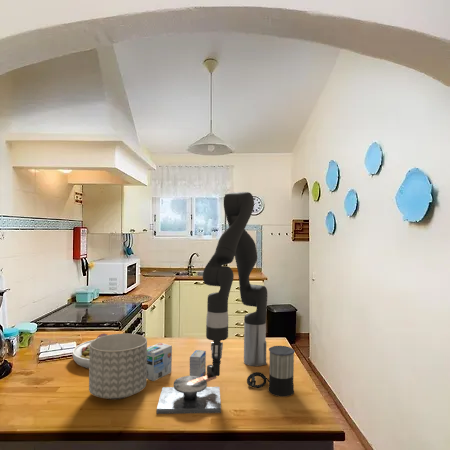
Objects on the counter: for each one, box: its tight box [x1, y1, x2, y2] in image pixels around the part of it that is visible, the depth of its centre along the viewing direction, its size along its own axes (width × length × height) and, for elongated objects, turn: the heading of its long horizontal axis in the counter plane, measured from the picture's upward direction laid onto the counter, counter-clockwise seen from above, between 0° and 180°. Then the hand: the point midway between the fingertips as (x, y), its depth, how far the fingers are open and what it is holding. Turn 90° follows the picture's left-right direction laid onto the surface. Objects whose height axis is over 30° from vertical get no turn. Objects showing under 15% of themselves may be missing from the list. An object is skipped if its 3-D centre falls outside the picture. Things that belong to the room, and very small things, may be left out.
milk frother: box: [246, 345, 295, 398], centre depth 131 cm, size 14×16×15 cm
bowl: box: [72, 333, 108, 369], centre depth 158 cm, size 30×30×8 cm
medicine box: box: [189, 349, 207, 377], centre depth 141 cm, size 8×4×9 cm, turn 168°
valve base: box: [156, 386, 222, 415], centre depth 120 cm, size 20×15×5 cm
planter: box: [88, 332, 148, 401], centre depth 125 cm, size 19×19×18 cm
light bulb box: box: [147, 342, 173, 382], centre depth 141 cm, size 11×7×11 cm, turn 148°
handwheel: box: [173, 364, 217, 393], centre depth 122 cm, size 16×11×4 cm
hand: (216, 374), depth 123 cm, fingers closed
